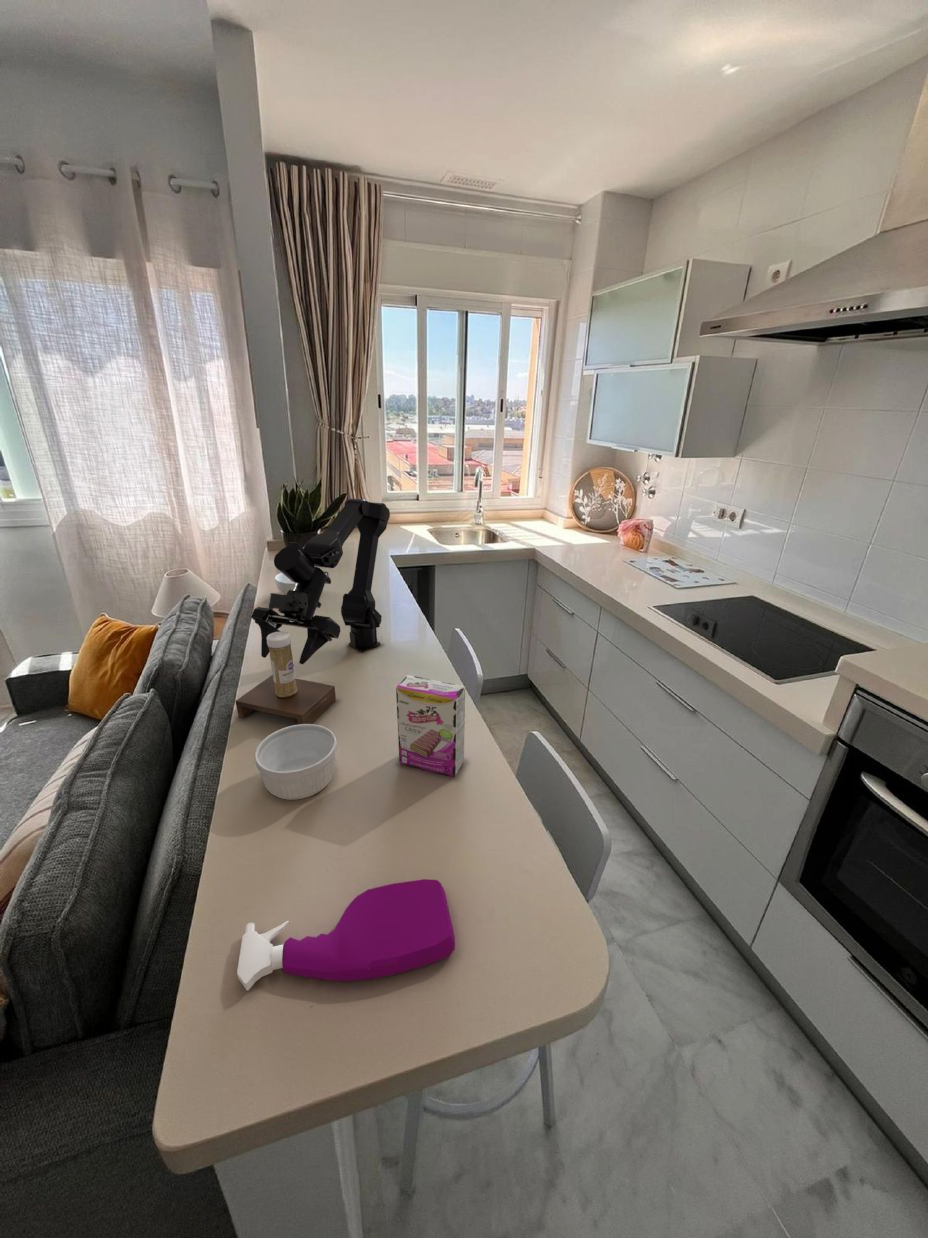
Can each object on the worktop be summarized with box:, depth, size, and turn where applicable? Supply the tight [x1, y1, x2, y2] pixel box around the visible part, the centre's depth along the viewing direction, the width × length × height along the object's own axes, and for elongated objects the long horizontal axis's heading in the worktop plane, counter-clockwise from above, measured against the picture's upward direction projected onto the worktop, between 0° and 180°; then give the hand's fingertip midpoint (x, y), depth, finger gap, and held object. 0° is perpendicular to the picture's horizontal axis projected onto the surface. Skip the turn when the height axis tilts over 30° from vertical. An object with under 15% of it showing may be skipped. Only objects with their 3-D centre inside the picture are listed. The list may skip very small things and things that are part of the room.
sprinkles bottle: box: [267, 630, 297, 697], centre depth 102 cm, size 5×5×13 cm
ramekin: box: [254, 723, 338, 801], centre depth 85 cm, size 13×13×7 cm
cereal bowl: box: [274, 572, 326, 595], centre depth 171 cm, size 17×17×7 cm
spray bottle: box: [236, 878, 456, 991], centre depth 59 cm, size 3×11×24 cm
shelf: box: [235, 674, 337, 725], centre depth 106 cm, size 12×16×4 cm
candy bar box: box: [395, 674, 466, 778], centre depth 87 cm, size 11×5×16 cm, turn 71°
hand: (281, 660), depth 102 cm, fingers open, 9 cm apart
